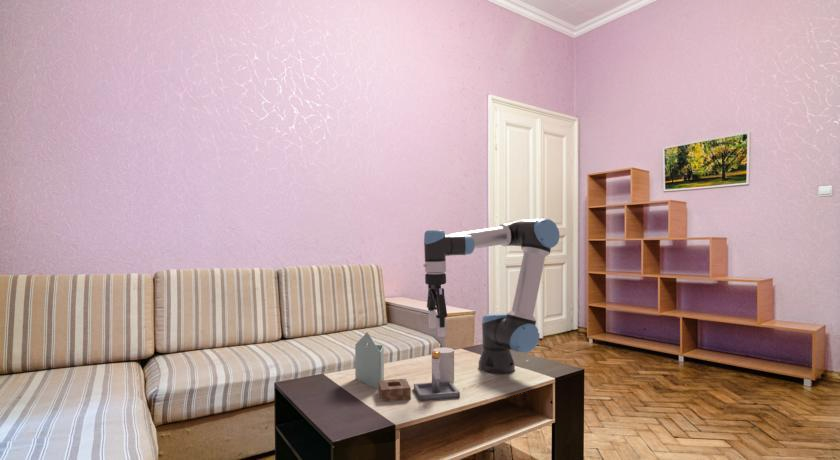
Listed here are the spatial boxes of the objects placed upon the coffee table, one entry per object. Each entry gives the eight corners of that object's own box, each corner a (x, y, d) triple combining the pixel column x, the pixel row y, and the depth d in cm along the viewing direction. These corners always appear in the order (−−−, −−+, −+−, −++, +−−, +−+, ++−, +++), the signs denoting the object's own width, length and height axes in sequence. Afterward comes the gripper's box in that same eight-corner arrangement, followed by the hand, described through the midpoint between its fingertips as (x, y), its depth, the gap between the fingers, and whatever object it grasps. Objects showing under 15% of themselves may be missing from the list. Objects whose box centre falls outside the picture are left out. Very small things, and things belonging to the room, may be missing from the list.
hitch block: (405, 389, 162) (405, 378, 162) (410, 399, 152) (410, 387, 152) (378, 391, 160) (378, 380, 160) (381, 401, 150) (381, 389, 150)
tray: (450, 386, 165) (450, 381, 165) (459, 397, 154) (459, 392, 154) (413, 388, 162) (413, 383, 162) (420, 400, 151) (420, 395, 151)
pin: (431, 390, 159) (430, 351, 159) (439, 389, 160) (438, 350, 160) (433, 393, 156) (432, 353, 156) (441, 392, 157) (440, 353, 157)
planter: (396, 384, 167) (396, 332, 167) (379, 389, 162) (379, 335, 162) (371, 374, 179) (371, 326, 180) (354, 379, 174) (354, 328, 174)
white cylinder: (452, 385, 166) (452, 353, 166) (431, 384, 168) (431, 352, 168) (455, 378, 174) (455, 348, 174) (435, 377, 176) (434, 347, 176)
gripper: (418, 270, 170) (419, 325, 170) (433, 276, 146) (435, 341, 146) (437, 269, 172) (438, 324, 172) (455, 275, 147) (456, 339, 147)
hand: (437, 332), depth 159 cm, fingers open, 13 cm apart
